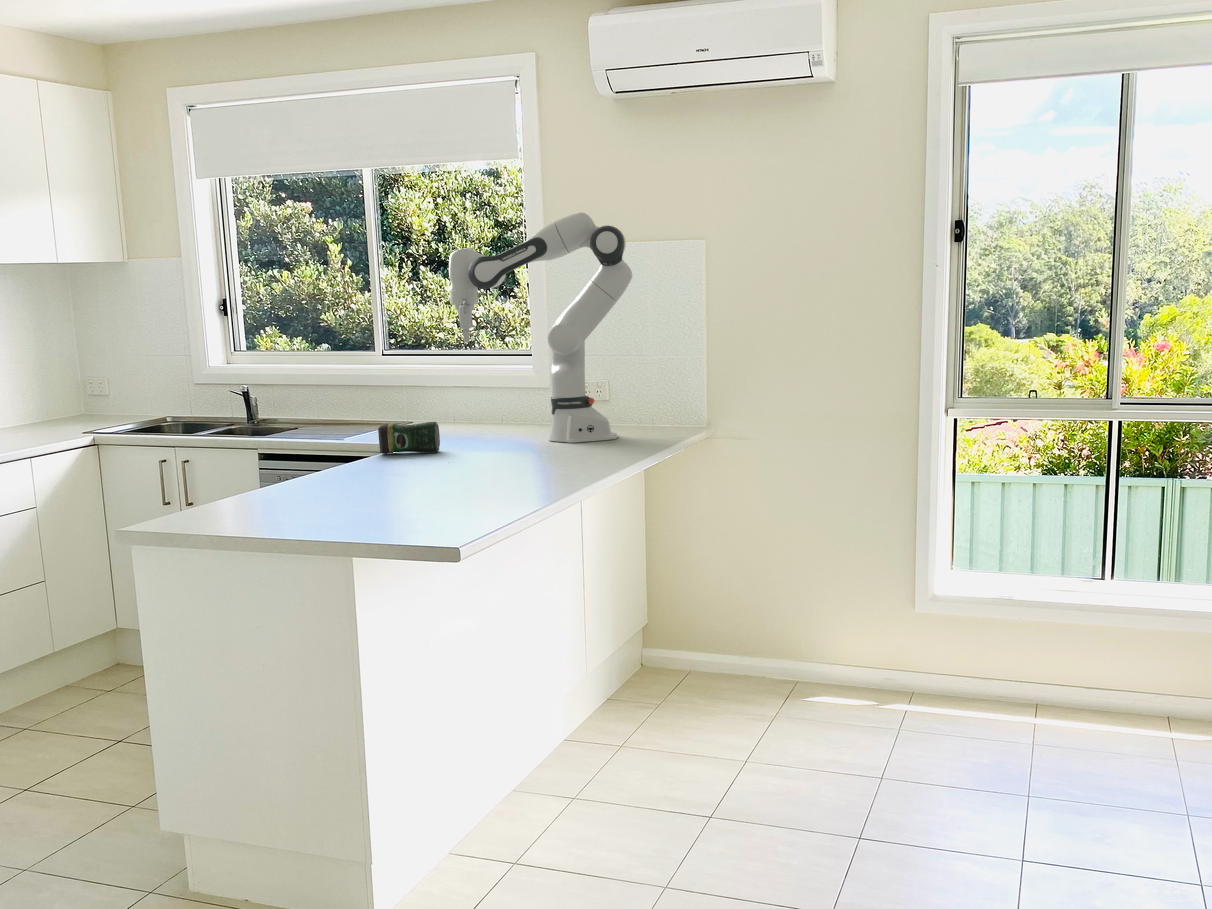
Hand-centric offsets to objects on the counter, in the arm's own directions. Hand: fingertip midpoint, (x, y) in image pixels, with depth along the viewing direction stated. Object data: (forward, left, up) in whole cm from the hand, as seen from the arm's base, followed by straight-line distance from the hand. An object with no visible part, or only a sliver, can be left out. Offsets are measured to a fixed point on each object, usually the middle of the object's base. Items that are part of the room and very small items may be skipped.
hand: (466, 342), depth 357 cm
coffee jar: (+10, +18, -28) cm, 35 cm away
